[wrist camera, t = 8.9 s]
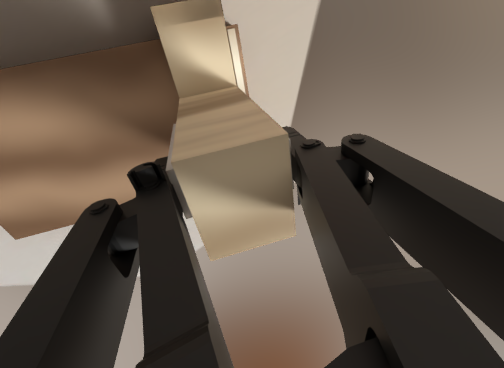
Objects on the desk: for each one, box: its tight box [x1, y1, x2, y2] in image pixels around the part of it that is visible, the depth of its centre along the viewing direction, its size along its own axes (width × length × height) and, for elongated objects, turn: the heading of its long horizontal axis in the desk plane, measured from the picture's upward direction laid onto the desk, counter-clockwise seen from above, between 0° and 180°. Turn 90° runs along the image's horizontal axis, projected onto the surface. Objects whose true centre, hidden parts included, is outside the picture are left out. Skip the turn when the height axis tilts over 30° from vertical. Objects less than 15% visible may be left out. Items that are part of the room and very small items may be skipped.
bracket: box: [150, 0, 296, 261], centre depth 14 cm, size 12×4×13 cm, turn 9°
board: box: [0, 24, 249, 240], centre depth 19 cm, size 12×22×2 cm, turn 99°
